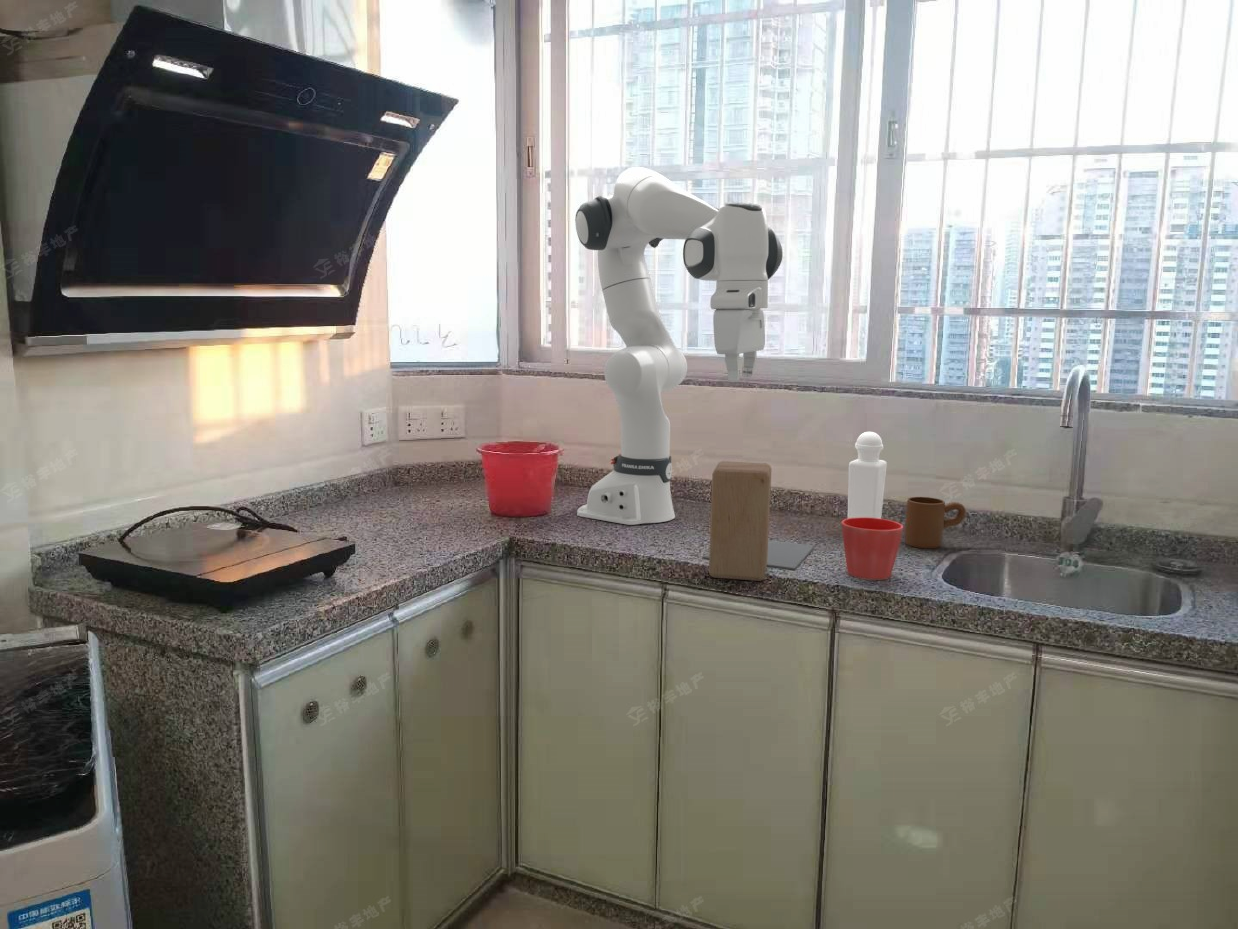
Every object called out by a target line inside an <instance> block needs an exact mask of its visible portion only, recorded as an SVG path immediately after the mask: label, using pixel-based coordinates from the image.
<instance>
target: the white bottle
mask: <svg viewBox="0 0 1238 929" xmlns="http://www.w3.org/2000/svg"><path fill="white" fill-rule="evenodd" d="M854 448H855V449H856V452H857V458H856V459H853V460H851V461H850V462H849V464H848V484H847V485H848V487H847V488H848V489H847V519H848V518H859V517H869V518H880V519H882V513H883V505H884V494H885V486H886V477H887V476H886V474H887V467H888V462H887V461H886V460H883V459H880V454H881V452H882V451H883V450H884V444H883V440H882V438H881V436H880V435H879V434H878V433H877V432H874V431H865V432H863V433H861V434H859V436H858V437H857V439H856V442H855V443H854Z"/></svg>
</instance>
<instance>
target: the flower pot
mask: <svg viewBox="0 0 1238 929" xmlns="http://www.w3.org/2000/svg"><path fill="white" fill-rule="evenodd" d="M840 526H841V532H842V539H843V540H842V541H843V549H844V558H845V565H846V570H847V574H848V575H850V576H851V577H855V578H858V579H861V580H868V581H869V580H870V581H873V580H874V581H880V580H887V579H889V578H890V577H891V576H892V573H893V570H894V565H895V562H896V559H897V556H898V552H899V548H900V546H901V545H900V544H901V540H902V536H903V532H904V525H903V524H902V523H901V522H900V523H899V522H897V521H895V520H891V519H886V518H881V519H880V518H869V517H859V518H848V517H847V518H845V519H843V520H842V521H841V524H840Z"/></svg>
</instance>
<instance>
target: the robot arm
mask: <svg viewBox="0 0 1238 929" xmlns="http://www.w3.org/2000/svg"><path fill="white" fill-rule="evenodd" d="M613 188H614V189H613V191H614V192H613V194H612V195H607V196H602V195H598V196H596V197H595V198H592V199H590V200H588V201H585V202H583V203H582V204H581V205H580V206H579V207H578V209H577V211H576V213H575V219H574V220H575V222H574V223H575V232H576V235H577V238H578V240H579V242H580V244H582V246H583V247H584V248H585V249H587V250H592V251H597V268H598V276H599V281H600V287H601V291H602V294H603V295H602V296H603V300H604V303H605V307H606V312H607V315H608V320H609V323H610V326H611V327H612V328H613V330H614V331H616V333H617V334H618V336H620V337H621V339H622V341H623V343H624V345H625V347H624V348H621V349H620V350H618V351H615V352H614V353H613V354H612V355H610V356H609V357H608V358H607V361H606V362H605V365H604V368H603V369H604V380H605V382H606V384H607V386H608V388H610V390H611V391H612V393H613V394H614V398H615V401H616V402H617V403H616V404H617V408H618V413H619V417H620V431H621V432H620V453H619V454H617V455H616V456H615V457H613V458H612V459H610V461H611V462H610V465H612V467H613V468H612V469H613V470H612V471H610V472H609V473H608V474H606V475H605V476H604V477H602V478H601V479H599V480H598V481H597V482H595V483H594V484H593V485H592V486H591V487H590V489H589V491H588V495H587V502H586V504H583V505H582V506H580V507H578V509H577V511H576V515H577V516H578V517H581V518H587V519H593V520H599V521H600V520H601V521H606V522H610V523H611V522H612V523H617V524H621V525H623V524H624V525H629V526H632V525H633V526H634V525H640V524H641V525H642V524H656V523H663V522H669V521H672V520H674V519H675V518H676V515H675V510H674V506H673V501H672V493H671V492H672V491H671V481H672V473H673V472H672V471H673V469H672V468H673V465H672V456H671V455H670V454H671V453H670V452H671V450H670V449H671V422H670V419H669V417H668V416H667V415H666V413H665V410H664V407H663V406H664V405H663V404H662V402H663V401H662V396H661V395H662V394H661V393H665V392H670V391H671V390H673V389H675V388H676V387H677V386H679V385H680V384H681V383H682V382H683V381H684V380H685V378H686V376H687V373H688V363H687V358H686V357H685V355H684V354H683V353H682V351H680V349H679V348H678V347H677V346H676V345H675V343H674V341H673V340H672V338H671V335H670V334H669V331H668V329H667V327H666V325H665V323H664V321H663V318H662V317H661V314H660V311H659V308H658V304H657V300H656V295H655V292H654V289H653V284H652V281H651V277H650V273H649V268H648V266H647V263H646V260H645V250H646V248H647V245H648V244H649V246H650V247H651V248H654V249H656V248H657V247H659V244H660V242H661V241H663V240H685V241H684V243H683V249H682V258H683V264H684V267H685V269H686V270H687V272H688V273H689V275H690V276H692V277H693V278H694V279H696V280H701V281H706V282H707V281H708V282H710V281H713V282H714V281H715V283H716V287H715V291H714V293H713V294H711V297H710V309H711V310H713V315H712V316H713V317H712V319H713V321H712V322H713V324H712V326H713V339H714V340H713V341H714V349H715V351H716V354H717V355H724V362H725V366H726V370H727V381H729V382H737V381H740V378H741V370H742V377H743V378H753V377H754V376H755V365H756V360H757V355H758V354H757V352H758V351H763V350H764V348H765V343H766V334H765V333H766V330H765V329H766V328H765V327H766V326H765V325H766V324H765V313H764V310H763V309H767V308H768V307H769V306H768V304H769V303H768V301H769V300H768V298H769V296H768V295H769V294H768V293H769V280H770V279H771V278H772V277H773V276H774V275H775V274H776V272H777V271H778V269H779V268H780V266H781V263H782V261H783V246H782V243H781V241H780V239H779V237H778V236H777V234H776V233H775V232H774V230H773V229H772V228H771V227H769V226H768V218H767V213H766V211H765V208H764V207H762V206H761V205H759V204H756V203H750V202H749V203H748V202H746V203H745V202H738V201H737V202H735V201H731V202H729V201H728V202H725V203H723V204H721V205H720V206H719V208H717V207H715V206H714V205H712V204H710V203H707V202H706V201H704V200H703V199H701V198H699V197H697V196H695V195H694V194H691V193H690V192H688V191H687V190H685V189H684V188H682V187H680V186H678V185H677V184H676V183H675V182H672V181H671V180H670V179H668V178H666V177H665V176H664V175H662V174H660V173H659V172H656V171H654V170H653V169H652V170H651V169H649V168H646V167H641V166H634V167H629V168H628V169H626V170H624V171H623V172H622V173H621V174H620V175H619V176H618V177H617V179H616V181H615V184H614V187H613ZM740 354H743V356H742V357H743V367H742V369H740V367H739V361H740Z"/></svg>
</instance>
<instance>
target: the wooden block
mask: <svg viewBox="0 0 1238 929" xmlns="http://www.w3.org/2000/svg"><path fill="white" fill-rule="evenodd" d="M771 483H772V467H771V465H770V464H769V463H764V462H749V461H746V462H743V461H726V460H722V461H719V462H717V465H716V466H715V468H714V470H713V472H712V475H711V503H710V504H711V506H710V526H709V527H710V531H709V532H710V534H709V551H710V555H709V559H708V563H709V564H708V573H709V576H710V577H712V578H714V579H727V580H728V579H729V580H739V581H740V580H741V581H753V582H761V581H763V580H764V579H765V577H766V574H767V556H768V540H769V532H770V531H769V529H770V511H771V486H772V484H771Z"/></svg>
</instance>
